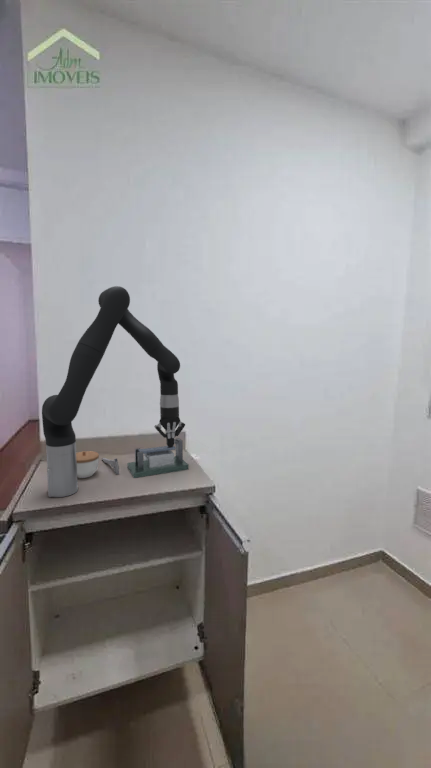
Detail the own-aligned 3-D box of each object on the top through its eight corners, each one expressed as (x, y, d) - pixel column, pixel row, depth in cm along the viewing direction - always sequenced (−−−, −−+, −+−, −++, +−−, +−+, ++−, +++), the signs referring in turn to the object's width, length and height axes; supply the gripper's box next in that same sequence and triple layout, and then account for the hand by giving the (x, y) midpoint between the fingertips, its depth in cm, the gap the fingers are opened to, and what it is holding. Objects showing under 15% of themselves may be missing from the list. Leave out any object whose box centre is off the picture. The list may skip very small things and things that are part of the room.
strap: (139, 454, 137) (139, 451, 136) (138, 451, 139) (138, 449, 139) (175, 449, 143) (175, 447, 143) (173, 447, 145) (173, 445, 145)
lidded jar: (69, 482, 128) (68, 457, 127) (69, 471, 138) (68, 448, 137) (100, 478, 132) (99, 454, 131) (98, 468, 142) (97, 445, 141)
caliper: (119, 475, 136) (118, 459, 135) (116, 475, 135) (115, 459, 134) (103, 460, 152) (103, 446, 152) (101, 460, 152) (100, 446, 151)
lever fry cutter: (133, 478, 132) (133, 449, 131) (127, 467, 143) (126, 441, 141) (188, 469, 141) (188, 442, 140) (178, 460, 152) (178, 435, 151)
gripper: (156, 408, 135) (157, 451, 137) (188, 405, 140) (188, 447, 143) (151, 404, 142) (152, 446, 144) (181, 402, 147) (182, 442, 150)
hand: (170, 446), depth 143 cm, fingers closed
